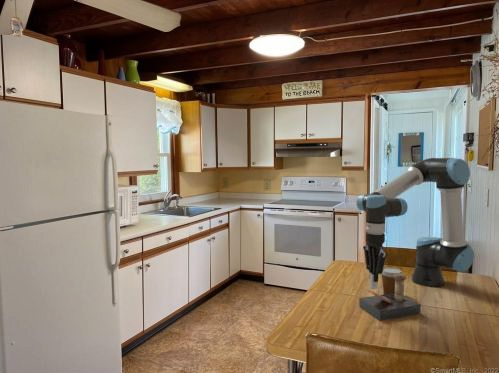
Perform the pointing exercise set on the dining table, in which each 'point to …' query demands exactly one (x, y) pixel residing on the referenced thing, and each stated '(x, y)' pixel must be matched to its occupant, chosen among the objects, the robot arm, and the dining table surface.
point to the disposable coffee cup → (389, 279)
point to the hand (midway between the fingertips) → (373, 288)
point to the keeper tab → (380, 296)
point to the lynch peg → (399, 287)
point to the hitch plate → (389, 307)
